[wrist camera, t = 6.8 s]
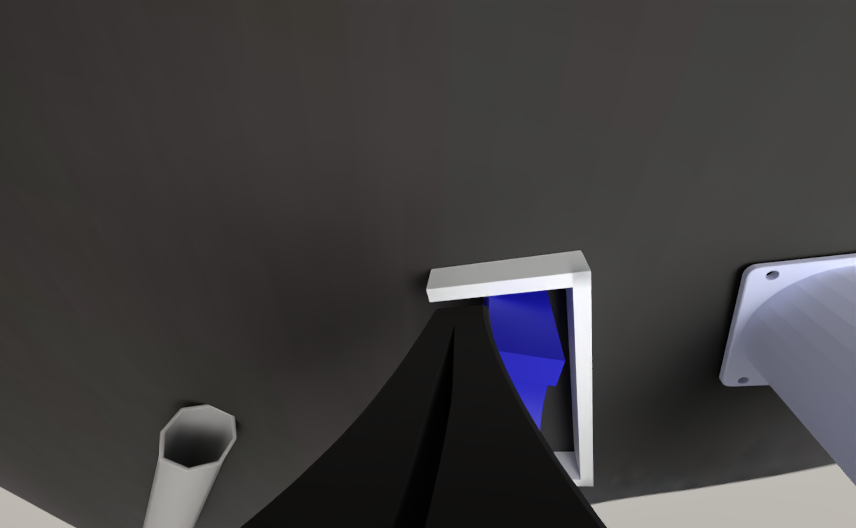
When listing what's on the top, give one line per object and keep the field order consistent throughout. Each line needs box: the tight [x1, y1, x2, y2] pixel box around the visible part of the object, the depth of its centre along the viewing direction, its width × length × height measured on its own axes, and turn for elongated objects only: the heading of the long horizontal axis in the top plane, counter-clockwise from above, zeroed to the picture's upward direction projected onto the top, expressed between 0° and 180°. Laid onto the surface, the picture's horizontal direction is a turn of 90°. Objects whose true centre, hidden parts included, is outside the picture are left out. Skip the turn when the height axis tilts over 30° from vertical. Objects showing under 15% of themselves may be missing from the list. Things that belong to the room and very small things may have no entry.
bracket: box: [426, 250, 593, 486], centre depth 22 cm, size 8×18×2 cm, turn 13°
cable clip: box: [483, 290, 565, 430], centre depth 20 cm, size 12×4×6 cm, turn 176°
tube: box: [143, 404, 237, 528], centre depth 34 cm, size 5×5×25 cm
